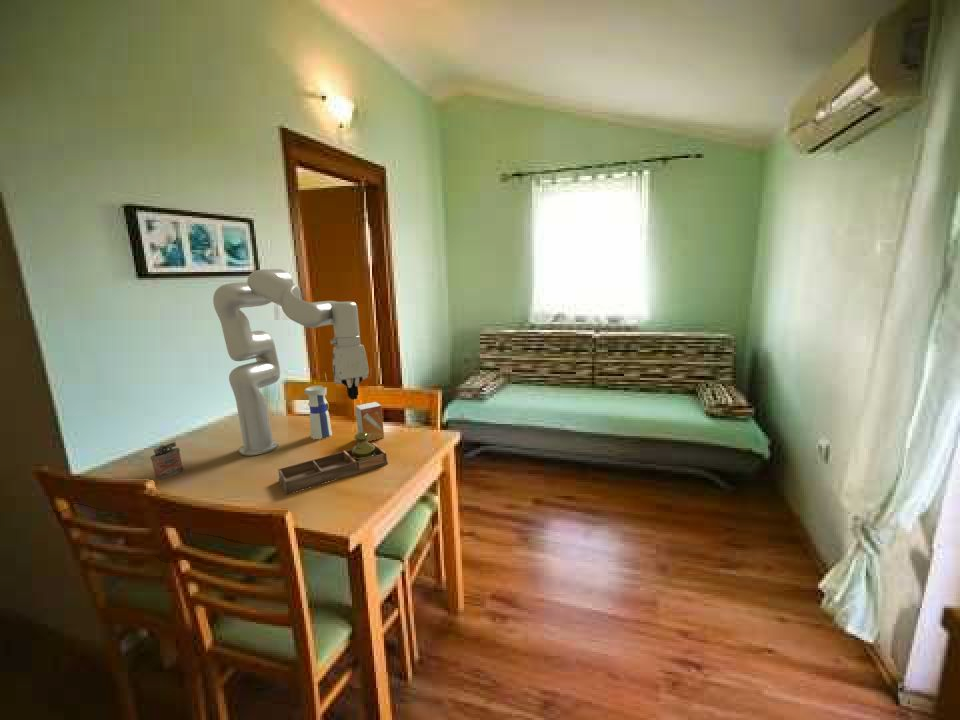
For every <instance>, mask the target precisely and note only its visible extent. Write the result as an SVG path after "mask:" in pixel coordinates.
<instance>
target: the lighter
mask: <svg viewBox="0 0 960 720" xmlns="http://www.w3.org/2000/svg"><path fill="white" fill-rule="evenodd" d="M180 451H181V450H180V448H179V447H177V444H176V442H170V443H167V444H165V445H164V444H160V445H159V446H158V447H156V448H153V452H154V454H153V455H151V456H150V460H151V462H152V467H153V472H154V480H162V479H166V478H168V477H172V476H174V475H176V474H178V473H180V472H183V471H184V466H183V463H182V458H181V453H180Z"/></svg>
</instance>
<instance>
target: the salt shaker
mask: <svg viewBox="0 0 960 720" xmlns="http://www.w3.org/2000/svg"><path fill="white" fill-rule="evenodd" d="M369 437H370V434H369V433H367V432H364V431H362V432H359V433H358V432H357V433H356V434H355V435H354V439H355V440H357V442H358V443H357V444H356V445H354V447H353V448H352V454H353V456H352V457H353V459H354V460H355V461H359V460H363V459H366V458H370V457H373V456H376V453H375V452H374V451H375V446H374V445H372V443H370V441H369V442H367V439H368V438H369Z"/></svg>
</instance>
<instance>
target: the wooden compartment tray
mask: <svg viewBox="0 0 960 720" xmlns="http://www.w3.org/2000/svg"><path fill="white" fill-rule="evenodd" d="M371 444H372V445H374V446H375V451H374V452H375V453H376V456H373V457H370V458H366V459H363V460H359V461H355V460H354V459H353V457H352V456H353V454H352V449H353V448H352V449H347V450H345V449H344V450H342V451H340V452H336V453H333V454H328V455H325V456H322V457H317V458H315V459H310V460H307V461H303V462H299V463H295V464H293V465H289V466H284V467H282V468H278V469H277V471H278V482H279V483H280V485H282V486H281V487H282V489H283V491H284V490H285V491H284V492H286V493H285V494H286V495H287V494H289V495H291V494H290V493H292V494H294V493H293V492H295V493H297V492H296V491H298V492H300V491H299V490H302V489H305V490H307V489H306V488H308V489H310V488H309V487H311V488H314V487H313V486H315V487H317V486H316V485H318V486H320V485H319V484H321V485H323V484H322V483H325V482H328V481H331V482H333V481H332V480H334V481H336V480H335V479H338V480H339V478H341V479H343V478H342V477H344V478H347V477H350V475H351V476H353V474H354V475H356V473H357V474H360V473H364V472H367V471H369V470H373V469H376V468H379V467H382V466H386V465H388V464H389V461H388V460H387V452H386V451H385V450H384V449H382V448H381V447H380V446H379V445H378V444H376V443H374V442H371ZM366 470H367V471H366ZM363 471H364V472H363ZM359 472H360V473H359ZM346 476H347V477H346ZM328 483H329V482H328ZM325 484H326V483H325ZM302 491H303V490H302Z"/></svg>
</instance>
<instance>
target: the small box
mask: <svg viewBox="0 0 960 720" xmlns="http://www.w3.org/2000/svg"><path fill="white" fill-rule="evenodd" d="M355 416H356V426H357V433H359V432H362V431H364V432H367V433H369V434H370V437H369V438H368V439H367V442H368V441H369V442H371V441H372V440H373V441H376V439H377V440H381V438H382V439H384V438H385V432H384V422H383V421H384V420H383V419H384V418H383V409H382V405H381V404H380V403H378V402H377V401H373V402H368V403H363V404H359V405H355Z"/></svg>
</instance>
